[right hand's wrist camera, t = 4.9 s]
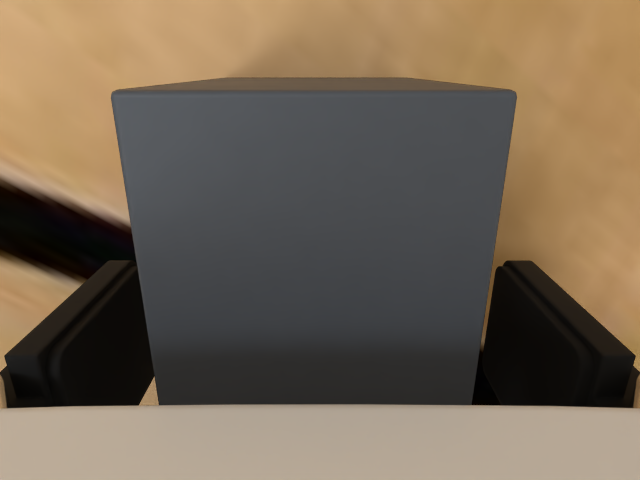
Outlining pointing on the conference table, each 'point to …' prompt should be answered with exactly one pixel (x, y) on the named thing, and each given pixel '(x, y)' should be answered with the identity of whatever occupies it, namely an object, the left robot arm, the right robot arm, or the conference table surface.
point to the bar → (314, 235)
